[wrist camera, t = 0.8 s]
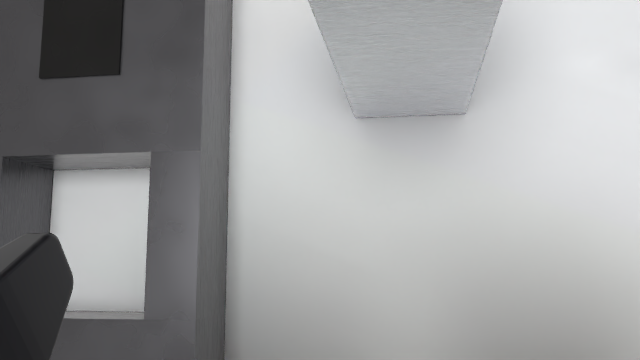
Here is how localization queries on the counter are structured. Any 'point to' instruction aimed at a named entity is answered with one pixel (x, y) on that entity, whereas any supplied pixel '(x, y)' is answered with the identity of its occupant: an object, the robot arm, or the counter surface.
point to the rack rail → (126, 152)
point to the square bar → (407, 52)
